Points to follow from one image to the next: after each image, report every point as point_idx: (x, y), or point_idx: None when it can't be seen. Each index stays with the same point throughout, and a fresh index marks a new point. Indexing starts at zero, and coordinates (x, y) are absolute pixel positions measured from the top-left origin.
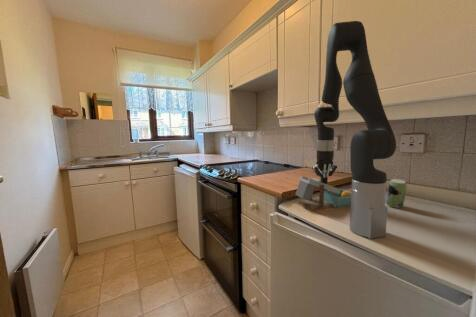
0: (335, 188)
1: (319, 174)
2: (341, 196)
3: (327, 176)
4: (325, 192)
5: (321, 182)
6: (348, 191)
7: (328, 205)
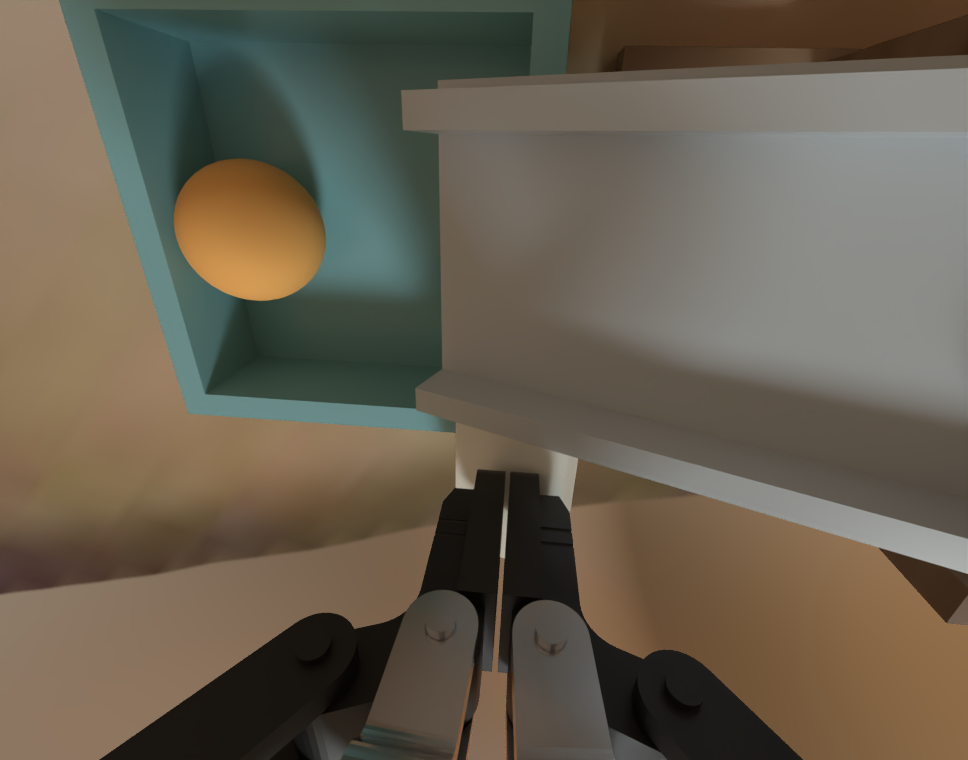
0: (575, 85)
1: (775, 755)
2: (273, 339)
3: (443, 621)
4: None
5: (710, 470)
6: (153, 289)
7: (729, 56)
